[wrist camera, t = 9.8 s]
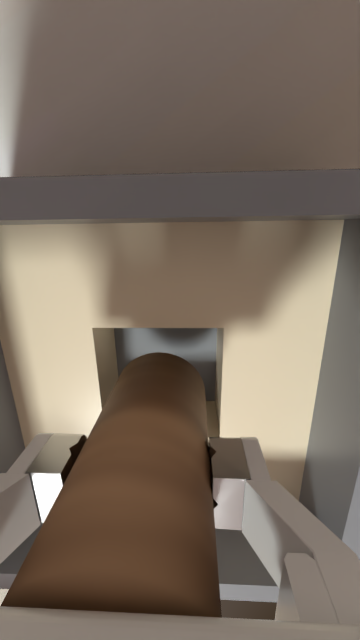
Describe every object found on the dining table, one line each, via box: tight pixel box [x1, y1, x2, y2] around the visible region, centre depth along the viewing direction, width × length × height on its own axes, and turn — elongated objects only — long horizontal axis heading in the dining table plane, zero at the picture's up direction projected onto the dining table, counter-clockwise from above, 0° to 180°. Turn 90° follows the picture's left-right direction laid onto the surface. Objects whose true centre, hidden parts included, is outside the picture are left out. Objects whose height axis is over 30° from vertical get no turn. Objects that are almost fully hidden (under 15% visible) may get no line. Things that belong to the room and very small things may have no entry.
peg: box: [1, 352, 222, 618], centre depth 9 cm, size 4×4×8 cm
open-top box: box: [0, 169, 360, 602], centre depth 13 cm, size 16×16×8 cm
